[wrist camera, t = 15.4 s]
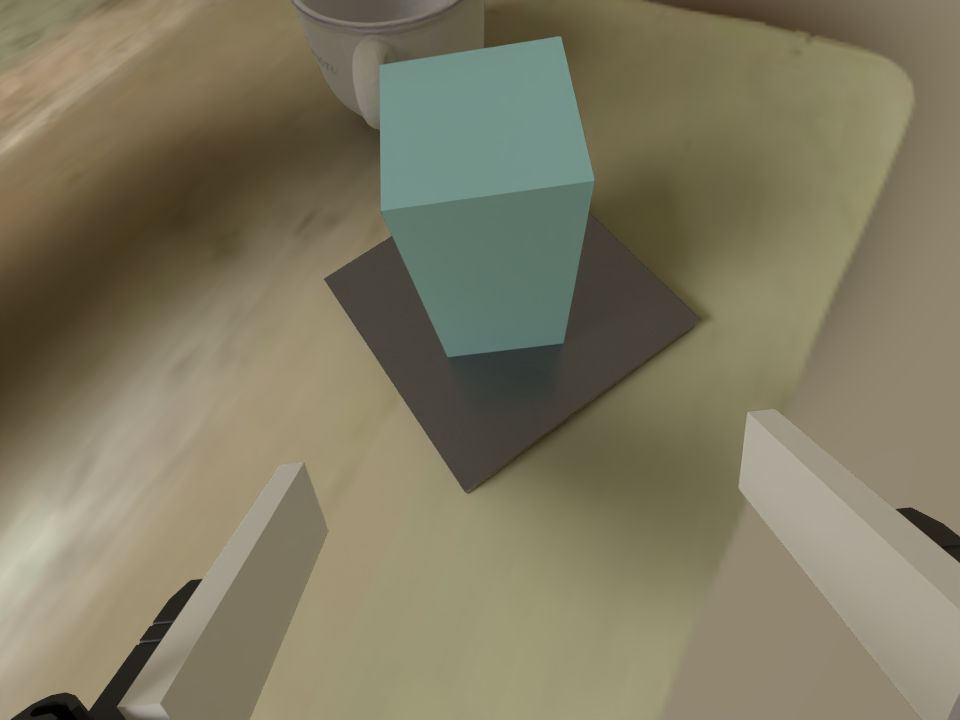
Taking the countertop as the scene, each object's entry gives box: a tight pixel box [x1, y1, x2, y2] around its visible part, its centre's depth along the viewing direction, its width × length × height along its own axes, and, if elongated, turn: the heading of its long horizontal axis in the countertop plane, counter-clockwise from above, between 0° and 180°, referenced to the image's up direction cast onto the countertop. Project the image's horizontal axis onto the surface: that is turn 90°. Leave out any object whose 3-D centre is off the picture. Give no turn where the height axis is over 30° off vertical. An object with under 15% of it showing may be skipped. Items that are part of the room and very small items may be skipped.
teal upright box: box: [379, 36, 595, 357], centre depth 18 cm, size 6×6×11 cm
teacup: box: [290, 0, 484, 130], centre depth 27 cm, size 14×11×8 cm
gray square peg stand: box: [324, 213, 700, 494], centre depth 20 cm, size 14×14×9 cm
